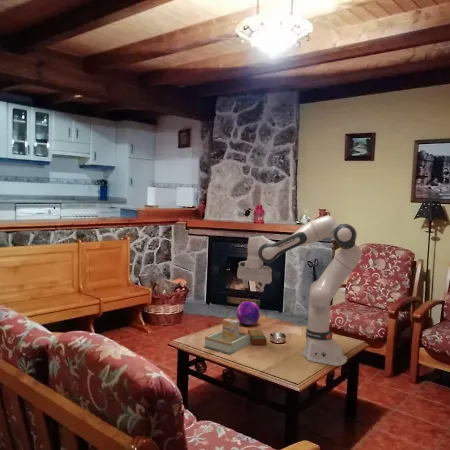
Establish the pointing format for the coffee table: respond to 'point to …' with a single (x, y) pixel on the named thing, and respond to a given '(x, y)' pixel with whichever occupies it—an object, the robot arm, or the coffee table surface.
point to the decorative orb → (248, 313)
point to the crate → (223, 346)
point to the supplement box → (230, 330)
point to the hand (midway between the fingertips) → (253, 289)
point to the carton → (257, 338)
